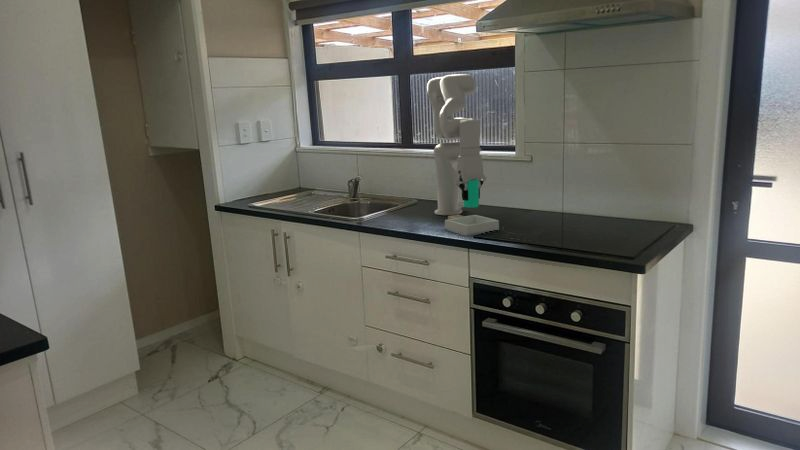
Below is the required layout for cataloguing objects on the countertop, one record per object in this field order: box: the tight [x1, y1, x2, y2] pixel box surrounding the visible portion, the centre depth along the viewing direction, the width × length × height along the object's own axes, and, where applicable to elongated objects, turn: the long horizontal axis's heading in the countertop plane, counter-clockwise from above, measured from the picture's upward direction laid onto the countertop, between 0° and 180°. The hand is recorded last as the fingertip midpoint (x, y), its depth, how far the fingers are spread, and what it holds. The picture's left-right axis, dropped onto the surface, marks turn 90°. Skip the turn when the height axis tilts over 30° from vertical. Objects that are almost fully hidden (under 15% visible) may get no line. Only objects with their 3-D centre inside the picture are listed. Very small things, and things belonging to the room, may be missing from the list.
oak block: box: [447, 214, 465, 220], centre depth 239 cm, size 5×5×4 cm
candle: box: [462, 179, 480, 208], centre depth 226 cm, size 6×6×12 cm
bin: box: [444, 214, 500, 237], centre depth 229 cm, size 15×15×4 cm
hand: (471, 198), depth 227 cm, fingers closed on candle, 4 cm apart
